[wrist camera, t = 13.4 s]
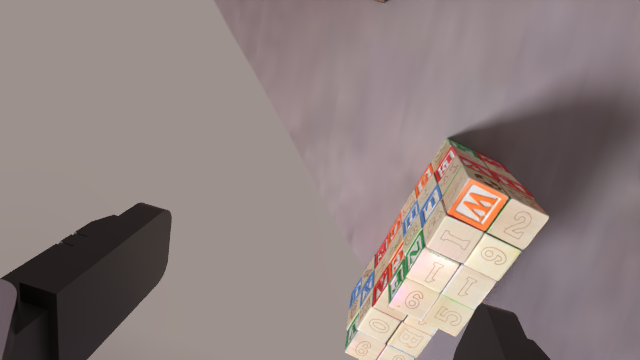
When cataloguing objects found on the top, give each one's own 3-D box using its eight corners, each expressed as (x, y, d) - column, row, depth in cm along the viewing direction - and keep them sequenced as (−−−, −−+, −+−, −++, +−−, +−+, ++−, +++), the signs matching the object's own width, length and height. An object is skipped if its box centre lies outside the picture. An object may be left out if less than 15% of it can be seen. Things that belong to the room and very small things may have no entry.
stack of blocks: (397, 316, 46) (400, 408, 35) (350, 293, 46) (337, 377, 35) (504, 163, 38) (553, 217, 26) (446, 134, 38) (471, 177, 26)
